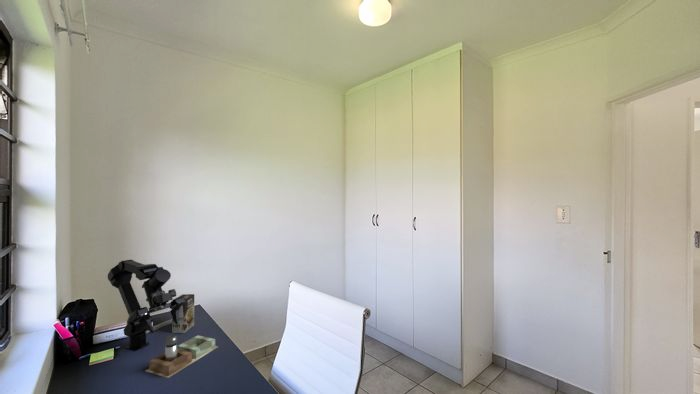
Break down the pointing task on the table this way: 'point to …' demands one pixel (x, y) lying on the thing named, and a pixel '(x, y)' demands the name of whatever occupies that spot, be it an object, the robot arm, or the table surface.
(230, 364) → the table surface
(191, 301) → the coffee box
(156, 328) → the long grey bar
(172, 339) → the shiny grey rounded piece
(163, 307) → the robot arm
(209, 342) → the wooden desk organizer
